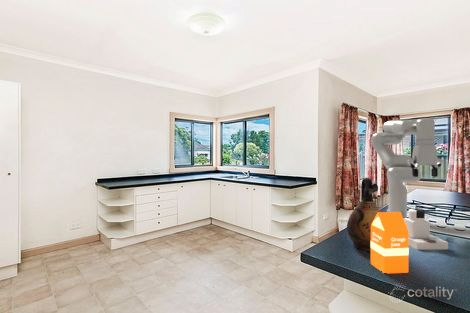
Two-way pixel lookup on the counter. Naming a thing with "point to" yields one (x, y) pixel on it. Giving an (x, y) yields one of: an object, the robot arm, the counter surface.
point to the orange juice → (389, 243)
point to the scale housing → (428, 243)
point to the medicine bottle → (417, 224)
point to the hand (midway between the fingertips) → (424, 176)
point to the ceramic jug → (363, 217)
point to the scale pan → (421, 238)
